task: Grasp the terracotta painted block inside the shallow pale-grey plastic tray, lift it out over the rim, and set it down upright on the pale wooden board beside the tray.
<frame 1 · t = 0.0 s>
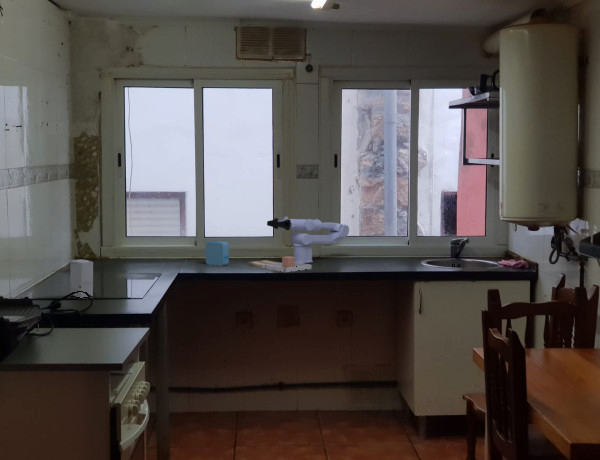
hand: (272, 223, 394), 22 cm above the worktop, tool horizontal, fingers open, 7 cm apart
terracotta block: (288, 263, 386), in the tray
tray: (288, 268, 386), on the worktop
skincare box: (82, 297, 312), on the worktop
board: (264, 265, 398), on the worktop
data package: (217, 265, 400), on the worktop
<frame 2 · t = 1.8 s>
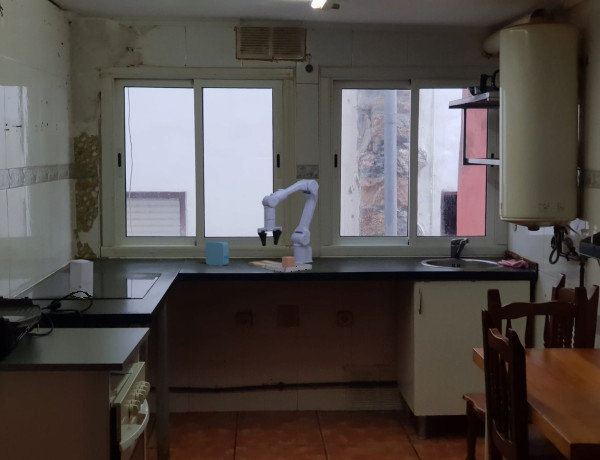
hand: (269, 245, 396), 10 cm above the worktop, tool pointing down, fingers open, 7 cm apart
nothing on the worktop moved.
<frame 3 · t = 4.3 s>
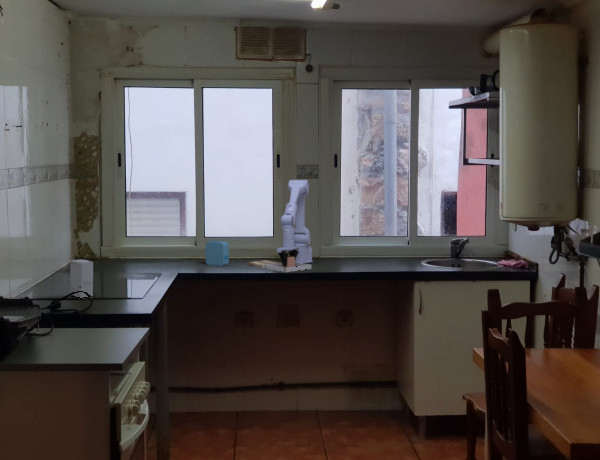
hand: (288, 265, 386), 2 cm above the worktop, tool pointing down, fingers closed on terracotta block, 5 cm apart
terracotta block: (288, 262, 386), in the tray, touching gripper
everything else where it was.
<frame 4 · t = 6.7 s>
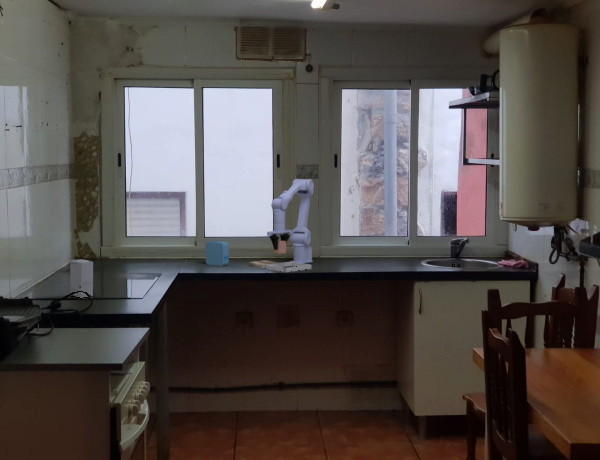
hand: (279, 249, 389), 9 cm above the worktop, tool pointing down, fingers closed on terracotta block, 4 cm apart
terracotta block: (279, 247, 389), point 10 cm above the worktop, touching gripper
everything else where it was.
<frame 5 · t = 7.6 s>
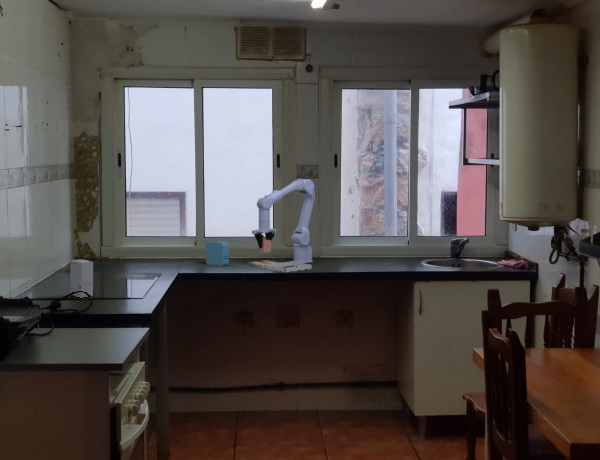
hand: (264, 247, 397), 9 cm above the worktop, tool pointing down, fingers closed on terracotta block, 4 cm apart
terracotta block: (264, 246, 396), point 10 cm above the worktop, touching gripper
everything else where it was.
when the fingers open (5 cm above the worktop, at t = 9.3 s): terracotta block stays where it is, resting on board.
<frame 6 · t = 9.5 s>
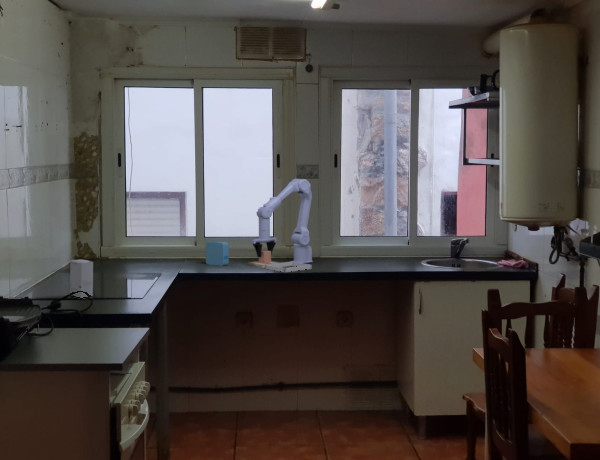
hand: (264, 256, 397), 5 cm above the worktop, tool pointing down, fingers open, 6 cm apart
terracotta block: (264, 256, 397), on the board, point 4 cm above the worktop
everything else where it was.
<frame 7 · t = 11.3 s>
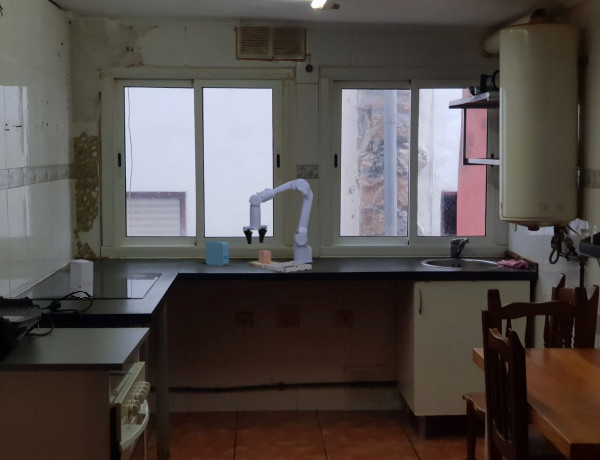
hand: (255, 243, 404), 10 cm above the worktop, tool pointing down, fingers open, 7 cm apart
nothing on the worktop moved.
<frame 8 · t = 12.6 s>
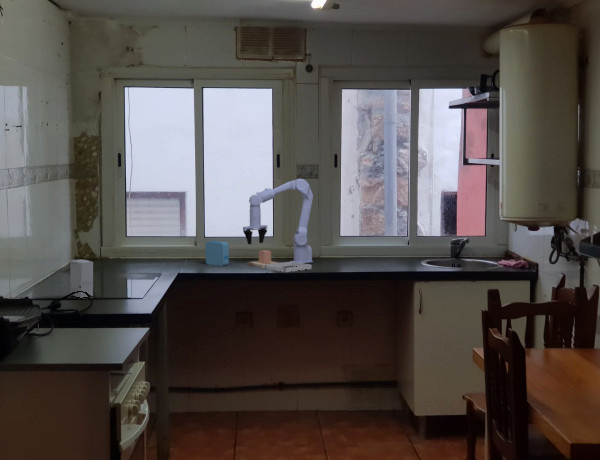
hand: (255, 243, 404), 10 cm above the worktop, tool pointing down, fingers open, 7 cm apart
nothing on the worktop moved.
at the end: terracotta block inside the target area on the board (0.3 cm from its centre), point 4.5 cm above the board's base; terracotta block tilted 0°; the gripper is holding nothing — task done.
